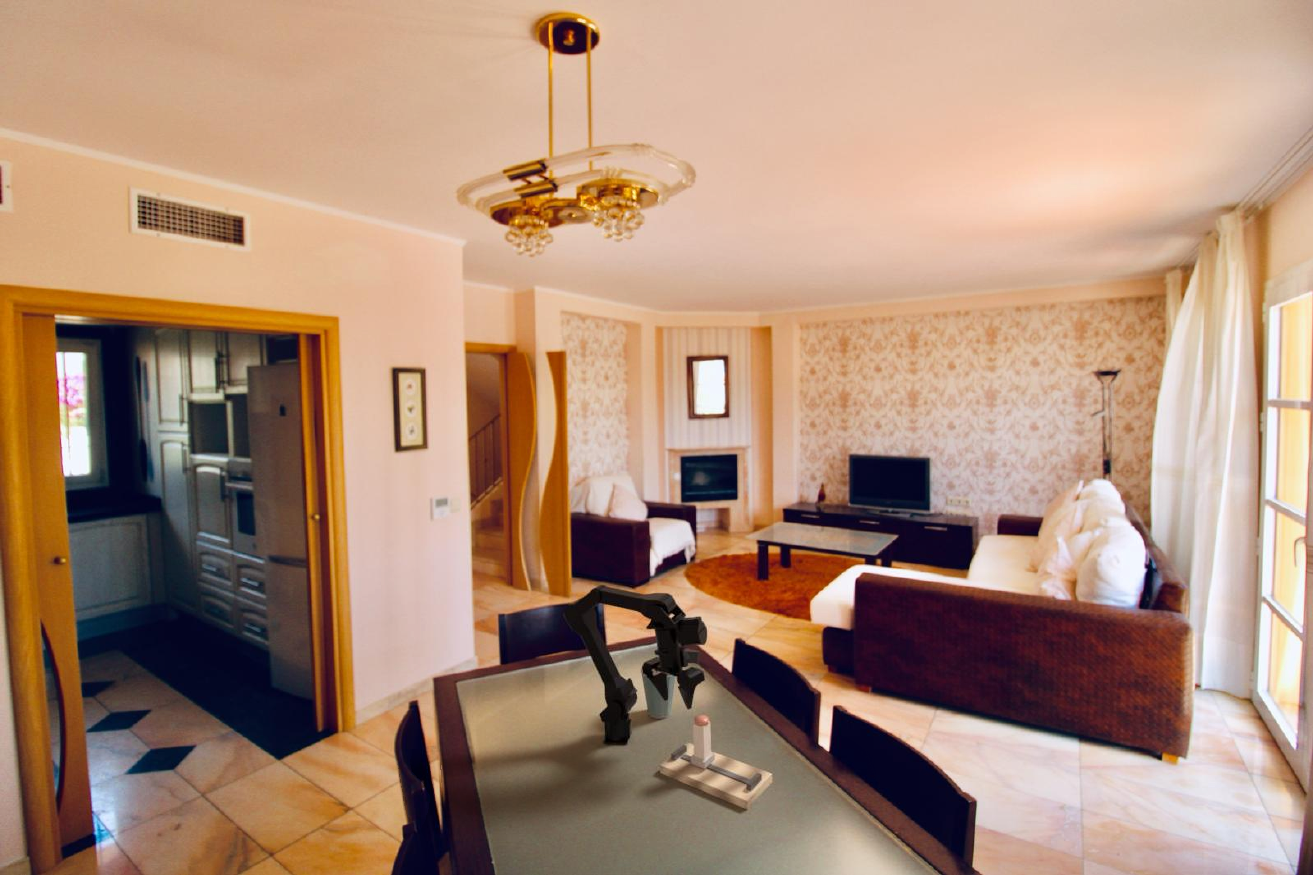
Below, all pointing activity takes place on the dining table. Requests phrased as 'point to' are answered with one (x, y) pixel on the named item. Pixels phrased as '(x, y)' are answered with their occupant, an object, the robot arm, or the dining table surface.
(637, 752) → the dining table surface
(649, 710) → the disposable coffee cup
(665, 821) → the dining table surface
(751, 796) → the slider console
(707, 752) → the slider lever
